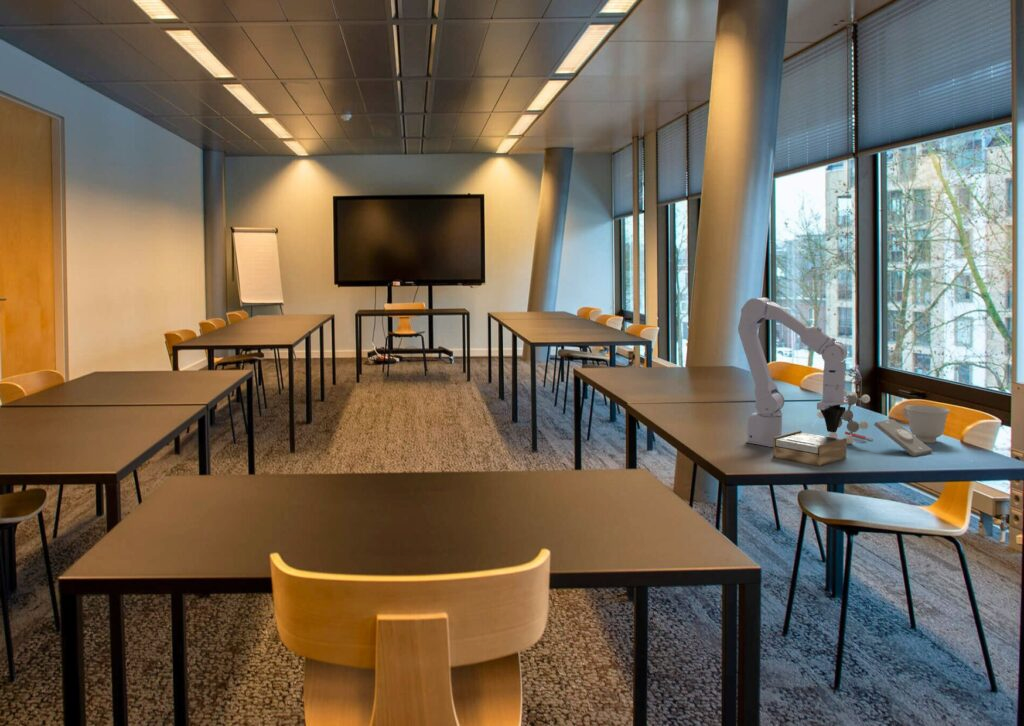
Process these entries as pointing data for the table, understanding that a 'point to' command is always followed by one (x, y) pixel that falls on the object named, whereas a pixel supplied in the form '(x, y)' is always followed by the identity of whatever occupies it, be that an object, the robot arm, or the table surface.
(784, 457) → the oak box
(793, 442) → the cover plate
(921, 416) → the teacup
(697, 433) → the table surface
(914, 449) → the light switch
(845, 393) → the molecule model
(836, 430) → the robot arm
